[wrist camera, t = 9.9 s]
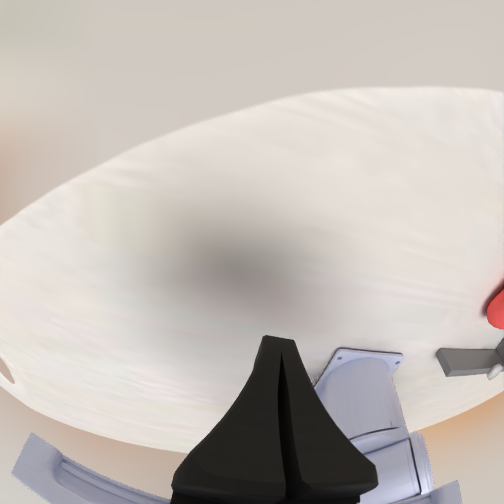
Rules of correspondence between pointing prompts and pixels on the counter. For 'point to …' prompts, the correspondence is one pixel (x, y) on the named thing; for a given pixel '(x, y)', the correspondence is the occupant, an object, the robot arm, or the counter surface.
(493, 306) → the red kidney bean shape
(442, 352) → the gray u-shaped bracket
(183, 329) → the counter surface
